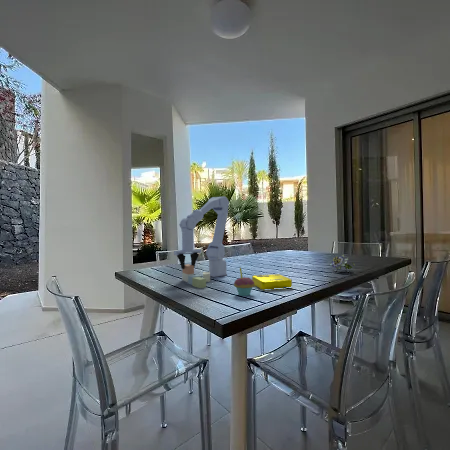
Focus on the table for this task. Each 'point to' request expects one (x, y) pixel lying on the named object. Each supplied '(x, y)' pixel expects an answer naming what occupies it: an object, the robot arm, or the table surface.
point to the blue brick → (192, 277)
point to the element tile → (271, 281)
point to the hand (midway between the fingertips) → (188, 268)
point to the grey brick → (186, 276)
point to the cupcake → (244, 285)
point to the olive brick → (199, 282)
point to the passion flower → (340, 262)
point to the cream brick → (206, 276)
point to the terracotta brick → (188, 269)
